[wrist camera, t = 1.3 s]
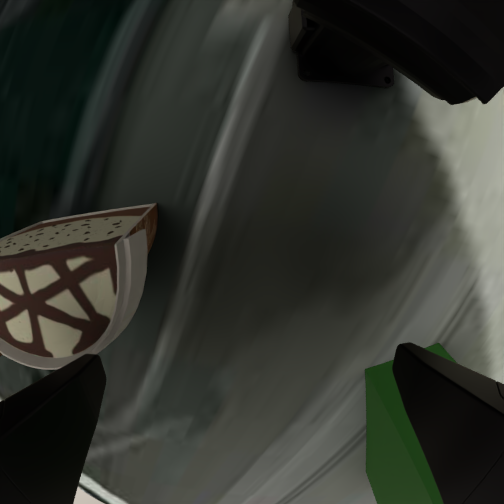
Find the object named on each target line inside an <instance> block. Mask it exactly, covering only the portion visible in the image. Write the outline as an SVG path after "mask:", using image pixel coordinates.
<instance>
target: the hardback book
mask: <svg viewBox="0 0 504 504" xmlns="http://www.w3.org/2000/svg"><path fill="white" fill-rule="evenodd" d="M424 349H426V350H428V351H431V352H433V353H435V354H437V355H439V356H442V357H444V358H446V359H448V360H450V361H453V362H455V363H456V361H455V360H454V359H453V358H452V357H451V356H450V355H449V354H448V353H447V351H446V350H445V349H444V348H443V347H442V346H441V345H440V344H439V343H437V344H434V345H432V346H429V347H427V348H424ZM393 361H394V360H391V361H389V362H386V363H383V364H380V365H377V366H374V367H370V368H367V369H365V379H366V419H367V441H366V473H367V476H368V479H369V482H370V484H371V487H372V490H373V493H374V496H375V499H376V501H377V504H444V503H443V501H442V498H441V495H440V493H439V490H438V488H437V485H436V483H435V480H434V477H433V475H432V472H431V470H430V468H429V465H428V463H427V460H426V458H425V455H424V453H423V451H422V448H421V446H420V444H419V441H418V439H417V437H416V434H415V432H414V430H413V427H412V425H411V423H410V421H409V418H408V416H407V414H406V411H405V409H404V406H403V403H402V400H401V396H400V393H399V390H398V387H397V384H396V381H395V378H394V375H393V372H392V365H393Z"/></svg>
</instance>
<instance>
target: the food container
mask: <svg viewBox="0 0 504 504" xmlns="http://www.w3.org/2000/svg"><path fill="white" fill-rule="evenodd" d="M157 222H158V209H157V203H154V204H146V205H139V206H132V207H125V208H118V209H111V210H105V211H98V212H92V213H86V214H80V215H74V216H68V217H62V218H57V219H51V220H46V221H41V222H39V223H36V224H34V225H31V226H29V227H27V228H24V229H22V230H19V231H17V232H15V233H12V234H10V235H8V236H6V237H3V238H1V239H0V353H2V354H3V355H4V356H6V357H8V358H10V359H12V360H14V361H16V362H18V363H21V364H23V365H26V366H29V367H33V368H39V369H59V368H61V367H63V366H65V365H67V364H68V363H70V362H72V361H74V360H75V359H77V358H79V357H81V356H82V355H84V354H87V353H89V354H97V353H99V352H100V351H101V350H103V349H104V348H105V347H106V346H108V345H109V344H110V343H111V342H112V341H113V340H115V339H116V338H117V337H118V336H119V335H120V334H121V332H122V331H123V330H124V329H125V328H126V327H127V326H128V324H129V322H130V320H131V319H132V317H133V315H134V314H135V312H136V310H137V307H138V304H139V302H140V299H141V296H142V293H143V289H144V283H145V278H146V273H147V255H148V253H149V251H150V249H151V247H152V244H153V242H154V239H155V235H156V230H157Z"/></svg>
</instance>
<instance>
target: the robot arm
mask: <svg viewBox="0 0 504 504" xmlns="http://www.w3.org/2000/svg"><path fill="white" fill-rule="evenodd" d="M289 30H290V45H291V49H292V50H293V51H297V66H298V76H299V77H300V79H302V80H303V81H314V82H331V83H344V84H355V85H365V86H374V87H382V88H389V87H391V86H393V84H394V75H393V68H395V69H396V70H398V71H399V72H400V73H402V74H403V75H405V76H406V77H407V78H409V79H410V80H412V81H413V82H414V83H416V84H417V85H418V86H420V87H421V88H422V89H424V90H425V91H426V92H428V93H429V94H430V95H431V96H433V97H435V98H438V99H440V100H445V101H447V102H448V103H449V104H451V105H454V104H460V103H465V102H468V101H471V100H473V99H475V98H478V99H479V100H480V101H481V102H482V103H483V104H486V103H488V102H489V101H490V100H491V99H492V98H493V97H494V96H495V95H496V94H497V93H498V92H499V90H500V89H501V88H503V87H504V0H293V7H292V9H291V11H290V14H289ZM304 70H307V71H308V72H309V73H310V76H305V75H304V74H303V71H304ZM384 78H387V79H388V84H387V83H386V82H385V81H384ZM392 372H393V375H394V378H395V381H396V384H397V387H398V390H399V393H400V396H401V400H402V403H403V406H404V409H405V411H406V414H407V416H408V418H409V421H410V423H411V425H412V427H413V430H414V432H415V434H416V437H417V439H418V441H419V444H420V446H421V448H422V451H423V453H424V455H425V458H426V460H427V463H428V465H429V468H430V470H431V472H432V475H433V477H434V480H435V483H436V485H437V488H438V490H439V493H440V495H441V498H442V501H443V503H444V504H504V384H502V383H500V382H496V381H495V380H493V379H491V378H488V377H486V376H484V375H482V374H479V373H477V372H475V371H473V370H470V369H468V368H466V367H464V366H462V365H459V364H457V363H455V362H453V361H450V360H448V359H446V358H444V357H442V356H439V355H437V354H435V353H433V352H431V351H428V350H426V349H424V348H422V347H420V346H417V345H415V344H413V343H410V342H409V343H402V344H399V345H398V346H397V349H396V353H395V357H394V361H393V365H392ZM105 386H106V374H105V371H104V368H103V365H102V362H101V358H100V356H99V355H97V354H89V353H87V354H84V355H82V356H81V357H79V358H77V359H75V360H74V361H72V362H70V363H68V364H67V365H65V366H63V367H61V368H59V369H58V370H56V371H54V372H52V373H51V374H49V375H47V376H45V377H44V378H42V379H40V380H38V381H36V382H35V383H33V384H31V385H29V386H28V387H26V388H24V389H22V390H21V391H19V392H17V393H15V394H13V395H12V396H10V397H8V398H6V399H5V401H4V400H3V401H1V402H0V504H73V502H74V498H75V495H76V491H77V487H78V484H79V480H80V477H81V473H82V470H83V466H84V463H85V460H86V457H87V453H88V450H89V447H90V444H91V441H92V438H93V434H94V431H95V428H96V425H97V422H98V417H99V413H100V408H101V403H102V399H103V394H104V390H105Z"/></svg>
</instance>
